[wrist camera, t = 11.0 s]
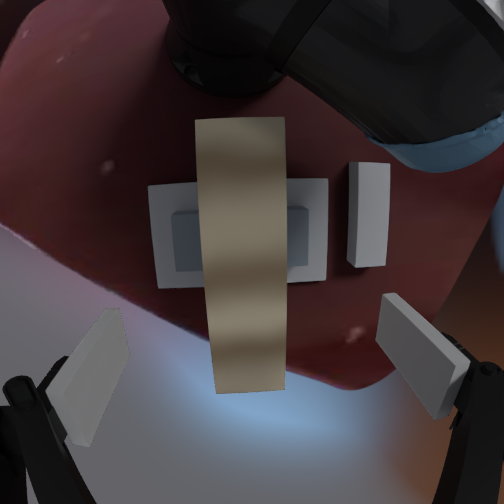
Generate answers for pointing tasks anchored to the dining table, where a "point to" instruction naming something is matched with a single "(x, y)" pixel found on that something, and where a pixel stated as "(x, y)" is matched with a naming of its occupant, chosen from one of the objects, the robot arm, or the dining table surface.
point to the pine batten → (244, 249)
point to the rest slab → (368, 213)
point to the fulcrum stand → (189, 240)
